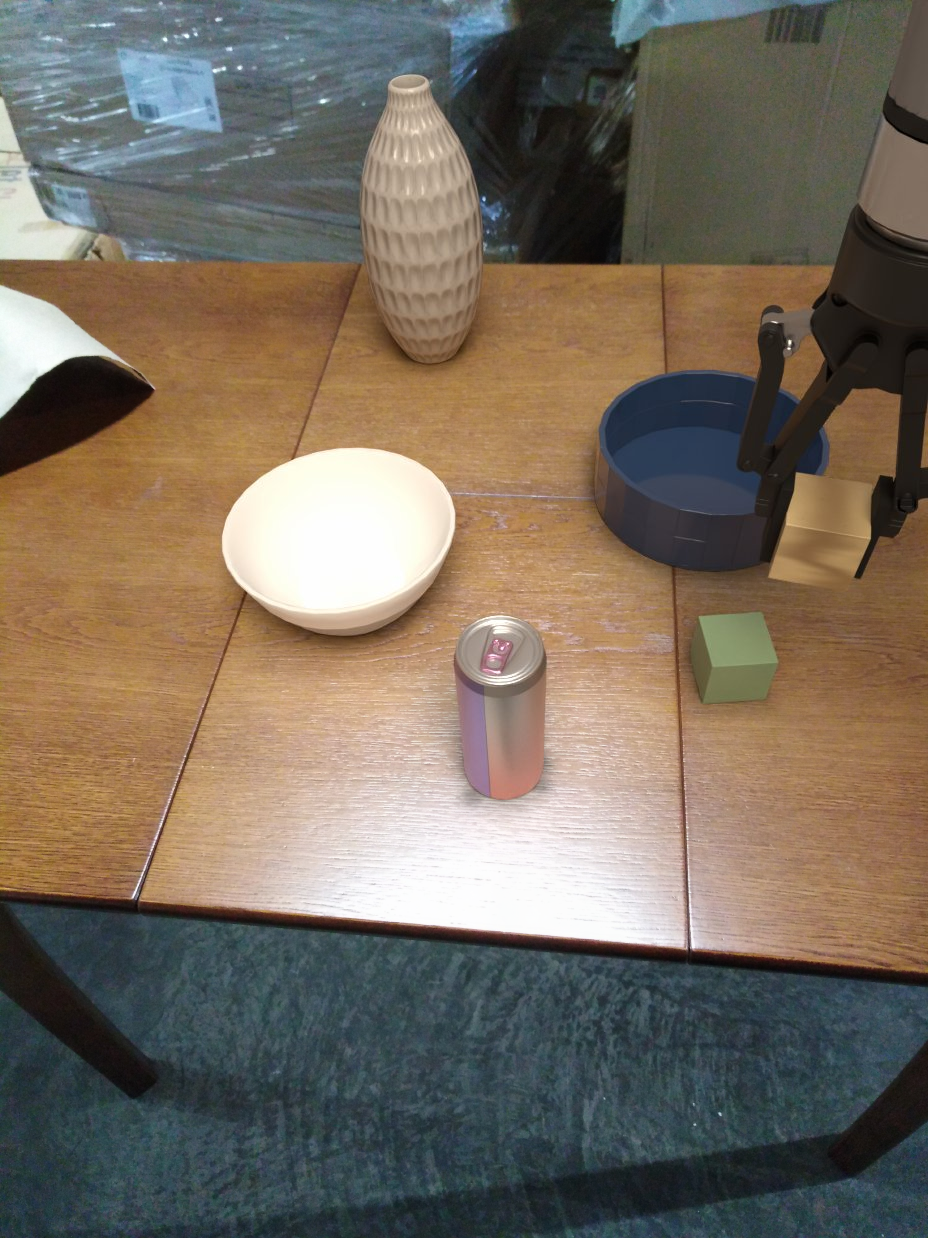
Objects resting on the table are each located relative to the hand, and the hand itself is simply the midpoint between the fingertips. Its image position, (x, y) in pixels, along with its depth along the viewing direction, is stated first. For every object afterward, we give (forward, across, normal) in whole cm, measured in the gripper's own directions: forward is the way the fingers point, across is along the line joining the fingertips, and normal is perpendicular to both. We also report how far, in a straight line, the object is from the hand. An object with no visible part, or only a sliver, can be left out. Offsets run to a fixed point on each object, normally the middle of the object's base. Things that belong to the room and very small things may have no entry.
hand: (810, 554), depth 60 cm
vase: (+16, +40, -38) cm, 58 cm away
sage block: (+15, +3, 0) cm, 16 cm away
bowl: (+16, +36, -2) cm, 39 cm away
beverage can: (+15, +18, +13) cm, 27 cm away
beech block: (0, 0, 0) cm, 0 cm away
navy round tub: (+15, +8, -21) cm, 27 cm away
